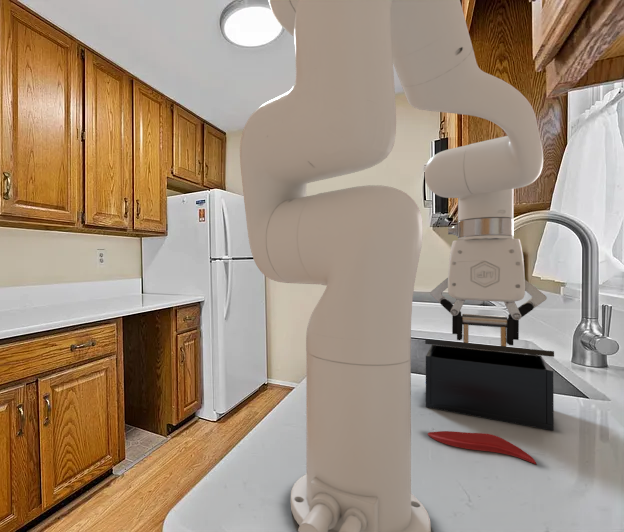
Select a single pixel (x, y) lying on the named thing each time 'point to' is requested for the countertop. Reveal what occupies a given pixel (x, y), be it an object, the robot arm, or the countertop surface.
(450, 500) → the countertop surface
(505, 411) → the bin
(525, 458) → the cayenne pepper
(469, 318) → the bin lid
